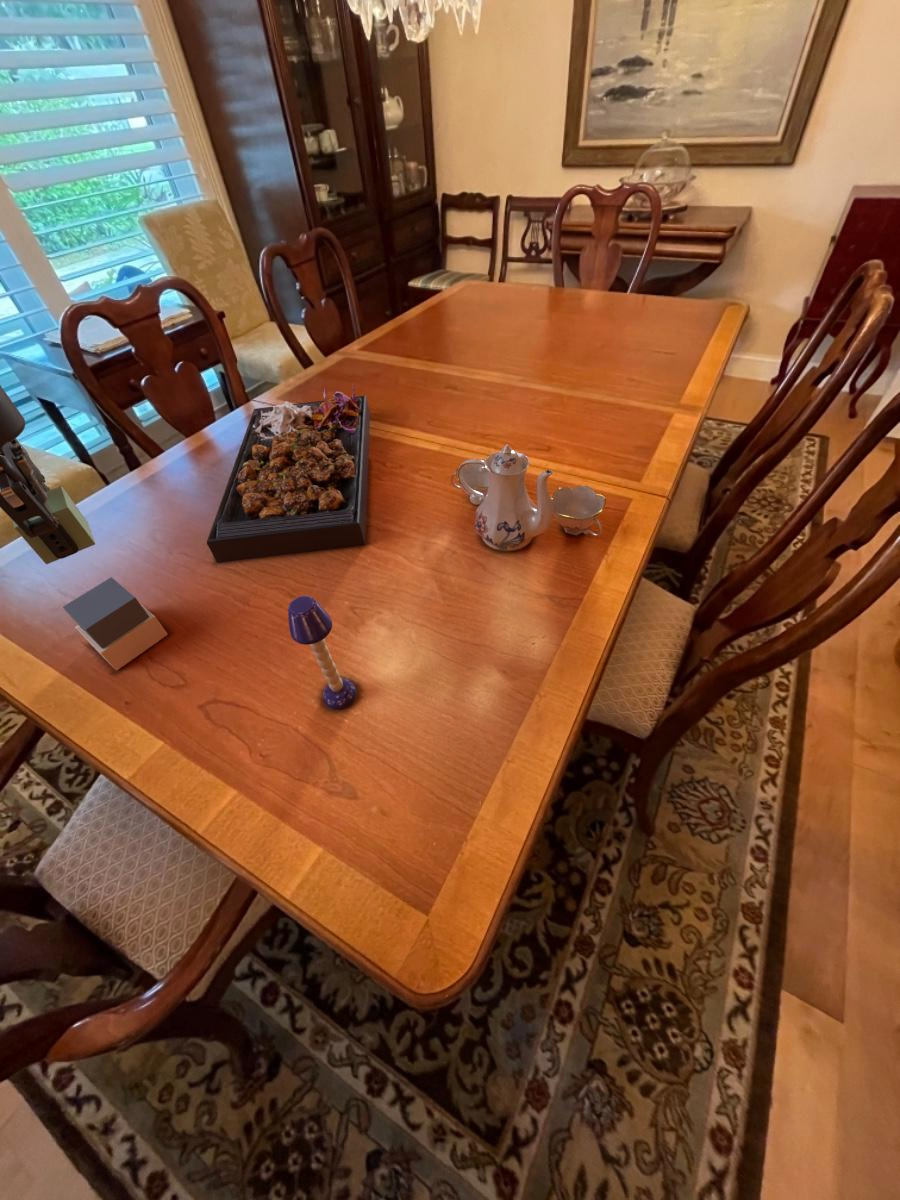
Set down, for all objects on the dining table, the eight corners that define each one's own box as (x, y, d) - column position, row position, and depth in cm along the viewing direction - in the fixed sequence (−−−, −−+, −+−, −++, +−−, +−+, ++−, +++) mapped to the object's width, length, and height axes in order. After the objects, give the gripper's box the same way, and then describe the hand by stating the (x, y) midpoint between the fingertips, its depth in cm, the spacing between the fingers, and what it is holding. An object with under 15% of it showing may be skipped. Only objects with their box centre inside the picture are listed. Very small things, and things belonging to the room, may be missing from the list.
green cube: (46, 565, 56) (13, 527, 52) (40, 541, 59) (9, 504, 55) (96, 544, 58) (68, 507, 54) (88, 522, 61) (61, 485, 57)
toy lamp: (313, 703, 67) (270, 615, 55) (332, 674, 70) (295, 584, 58) (346, 713, 66) (309, 626, 54) (364, 684, 69) (333, 594, 57)
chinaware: (612, 524, 89) (632, 428, 78) (580, 581, 78) (598, 479, 67) (463, 488, 99) (461, 399, 88) (417, 534, 89) (408, 439, 78)
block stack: (116, 671, 74) (83, 634, 68) (90, 644, 78) (56, 607, 72) (168, 634, 78) (140, 596, 72) (141, 611, 82) (112, 573, 76)
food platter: (260, 427, 119) (244, 382, 112) (370, 414, 119) (360, 368, 112) (217, 562, 88) (189, 512, 81) (365, 545, 88) (351, 493, 81)
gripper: (-104, 377, 49) (21, 523, 61) (-112, 438, 40) (35, 593, 53) (-12, 351, 51) (90, 497, 64) (-2, 404, 43) (114, 560, 55)
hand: (64, 540), depth 58 cm, fingers closed on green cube, 5 cm apart
